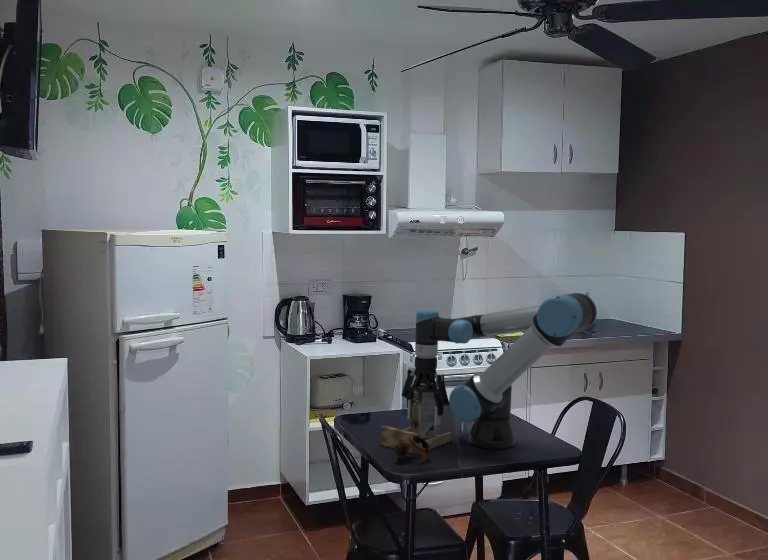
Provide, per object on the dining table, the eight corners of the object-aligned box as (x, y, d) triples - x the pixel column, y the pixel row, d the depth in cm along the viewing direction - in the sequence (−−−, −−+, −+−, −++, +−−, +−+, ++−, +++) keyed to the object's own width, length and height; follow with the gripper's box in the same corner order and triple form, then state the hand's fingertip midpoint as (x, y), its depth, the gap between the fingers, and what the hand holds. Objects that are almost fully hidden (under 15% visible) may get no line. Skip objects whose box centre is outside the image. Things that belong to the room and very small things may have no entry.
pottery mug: (407, 453, 226) (420, 433, 225) (424, 474, 220) (438, 453, 218) (382, 451, 218) (396, 430, 216) (400, 472, 211) (414, 450, 210)
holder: (451, 441, 240) (452, 423, 239) (416, 454, 224) (416, 435, 224) (417, 432, 249) (417, 415, 248) (380, 444, 233) (380, 426, 233)
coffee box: (410, 431, 243) (411, 384, 242) (427, 430, 245) (429, 383, 244) (419, 438, 234) (420, 390, 233) (437, 437, 236) (439, 389, 235)
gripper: (392, 353, 242) (390, 417, 244) (448, 362, 228) (445, 430, 229) (405, 350, 248) (404, 413, 250) (461, 359, 233) (458, 426, 235)
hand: (423, 421), depth 239 cm, fingers closed on coffee box, 11 cm apart
